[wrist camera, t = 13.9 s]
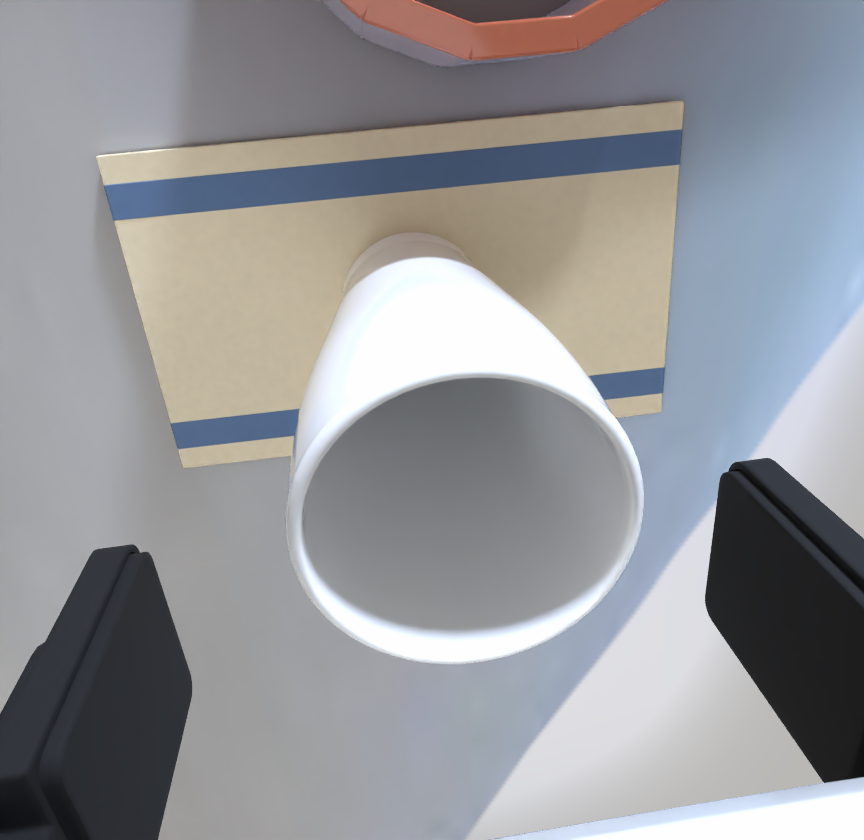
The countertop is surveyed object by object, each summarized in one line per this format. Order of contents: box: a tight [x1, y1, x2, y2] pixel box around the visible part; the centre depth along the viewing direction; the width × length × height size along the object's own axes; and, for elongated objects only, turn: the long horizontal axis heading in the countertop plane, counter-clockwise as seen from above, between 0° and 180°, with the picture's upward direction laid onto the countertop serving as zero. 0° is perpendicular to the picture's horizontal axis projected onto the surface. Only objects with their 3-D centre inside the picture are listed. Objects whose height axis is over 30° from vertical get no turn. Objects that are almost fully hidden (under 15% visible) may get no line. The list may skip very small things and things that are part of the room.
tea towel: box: [96, 101, 684, 468], centre depth 26 cm, size 20×12×1 cm, turn 95°
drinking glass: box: [285, 232, 644, 664], centre depth 19 cm, size 7×7×15 cm
